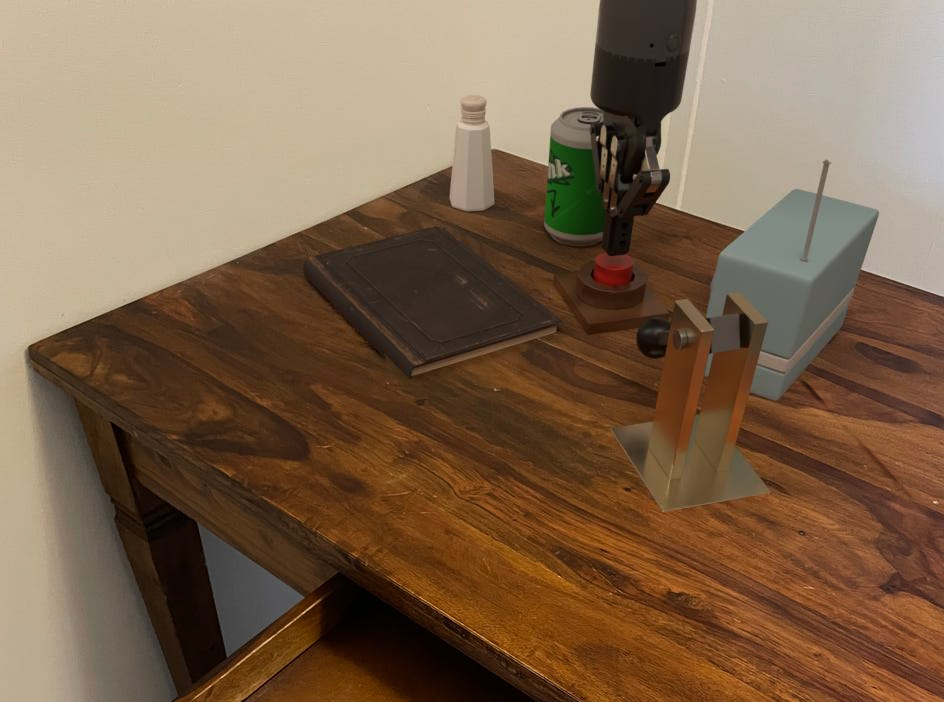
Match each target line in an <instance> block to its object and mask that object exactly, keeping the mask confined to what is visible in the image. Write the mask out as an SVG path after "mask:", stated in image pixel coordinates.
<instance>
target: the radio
mask: <svg viewBox="0 0 944 702" xmlns="http://www.w3.org/2000/svg"><path fill="white" fill-rule="evenodd" d="M822 164H823V165H822V170H821V174H820V178H819V181H818V182H819V183H818V187H817V191H816V192H811V191H808V190H804V189H799V188H794V189H792V190H791V191H790V192H788V194H786V195H785V196H784V197H783V198H781V199H780V200H779V201H778V202H777V203H776V204H774V206H772V207H771V208H770V209H769V210H768V211H767V212H765V213H764V214H763V215H762V216H760V218H758V219H757V220H756V221H755V222H753V224H752V225H750V226H749V227H748V228H747V229H746V230H745V231H744V232H742V233H741V234H739V236H738V237H737V238H735V239H734V240H732V242H731V243H729V244H728V245H727V246H726V247H725V248H724V249H723V250H721V252H720V253H719V255H718V257H717V262H716V266H715V271H714V273H713V277H712V280H711V282H710V285H709V287H710V295H709V299H708V303H707V309H706V312H705V318H706V317H713V316H721V315H722V314H723V309H724V305H725V300H726V296H727V293H733V292H740V293H741V294H742V295H743V296H744V297H745V298H746V299H747V300H748V301H749V302H750V303H751V304H752V305H753V306H754V307H755V308H756V310H757V311H758V312H759V313H760V314H761V315H762V316H763V317H764V318H765V319H766V320H767V321H768V325H767V329H766V333H765V336H764V340H763V344H762V348H761V351H760V355H759V359H758V362H757V366H756V370H755V374H754V377H753V381H752V385H751V389H750V392H749V393H750V394H754V395H757V396H760V397H763V398H765V399H767V400H771V401H774V402H778V401H779V400H780V399H781V398H782V397H783V395H784V394H785V393H786V392H787V391H788V390H789V389H790V388H791V387H792V385H793V384H794V383H795V382H796V380H798V378H799V377H800V376H801V375H802V373H804V372H805V370H806V369H807V368H808V367H809V366H810V364H811V363H812V362H813V361H814V360H815V359H816V358H817V356H819V354H820V353H821V351H823V349H824V348H825V347H826V346H827V345H828V344H829V342H831V340H832V339H833V338H834V336H835V335H836V334H837V333H838V332H839V331H840V329H841V328H842V327H843V325H844V322H845V320H846V316H847V313H848V310H849V307H850V303H851V300H852V298H853V294H854V292H855V287H856V285H857V282H858V279H859V277H860V274H861V271H862V267H863V265H864V262H865V258H866V255H867V252H868V250H869V247H870V243H871V240H872V238H873V234H874V231H875V228H876V225H877V222H878V219H879V216H880V211H879V209H876V208H873V207H869V206H866V205H863V204H858V203H854V202H850V201H846V200H842V199H838V198H834V197H830V196H827V195H823V194H824V189H825V184H826V181H827V177H828V172H829V169H830V168H829V167H830V165H832V162H831V161H830V160H829V159H825V160H823V161H822ZM712 358H713V354H709V356H708V361H707V365H706V370H705V374H704V377H706V378H708V375H709V371H710V366H711V362H712Z"/></svg>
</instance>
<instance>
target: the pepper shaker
mask: <svg viewBox="0 0 944 702" xmlns="http://www.w3.org/2000/svg"><path fill="white" fill-rule="evenodd" d="M487 103H488V102H487V99H486V98H485V97H484V96H481V95H480V94H468V95H465V96H463V97H461V99H460V106H461V108H460V110H461V111H460V112H461V113H460V115H461V119H460V120H459V121H457V122H456V128H455V134H454V135H455V137H454V147H453V156H452V157H453V158H452V167H451V177H450V188H449V196H448V197H449V198H448V199H449V201H450V205H451V207H452V208H454V209H457V210H460V211H463V212H466V213H467V212H469V213H470V212H484V211H486V210H488V209H490V208H492V207H493V206H495V205H496V203H495V189H494V173H493V172H494V171H493V170H494V169H493V156H492V138H491V127H490V124H489V121H487V120H486V112H487V107H486V106H487Z"/></svg>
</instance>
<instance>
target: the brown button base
mask: <svg viewBox="0 0 944 702" xmlns="http://www.w3.org/2000/svg"><path fill="white" fill-rule="evenodd" d="M594 265H595V259H594V260H590V261H588V262H586V263H585V264H583V265H581V266H579V269H578V270H574V271H567V272H558V273H554V274H553V282H552V283H553V284H552V285H553V287H554V288H555V289H556V291H557V293H558V294H559V296H561V298H562V300H563V301H564V302H565V304H566V305H567V307H568V308H569V310H570V312H572V314H573V315H574V317H575V318H576V320H577V322H578V323H579V324H580V326H581V327H582V329H583V330H584V331H585V333H586V335H588V336H590V335H598V334H604V333H612V332H619V331H626V330H627V331H628V330H634V329H639V328H640V326H641V325H642V324H643V323H644V322H645V321H647V320H648V319H651V318H655V317H661V318H664V319H667V320H668V321H669V319H670V318H669V317H670V312H669V311H668V309H666V307H665V306H664V305H663V303H662V302H661V301H660V300H659V298H657V296H656V295H655V294H654V292H653V291H652V290H651V289H650V287H648V285H647V284H648V278H649V276H648V273H646V271H645V270H644V269H643V268H642V267H641V266H639V265H636V264H633V270H632V277H631V281H630V283H628V284H626V285H620V286H611V285H603V284H601V283H599V282H597V281H595V280H594V278H593V274H594Z"/></svg>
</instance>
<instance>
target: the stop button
mask: <svg viewBox="0 0 944 702" xmlns="http://www.w3.org/2000/svg"><path fill="white" fill-rule="evenodd" d="M594 260H595V265H594V274H593V278H594V280H595V281H597V282H599V283H601V284H603V285H611V286H620V285H626V284H628V283H630V281H631V277H632V270H633V264H634V259H633V257H631V256H629V255H628V254H625V255H618V256H609V255H608V254H607V253H606V252H605V251H604V252H602V253H599V254H598V255H596V256H595V258H594Z"/></svg>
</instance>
